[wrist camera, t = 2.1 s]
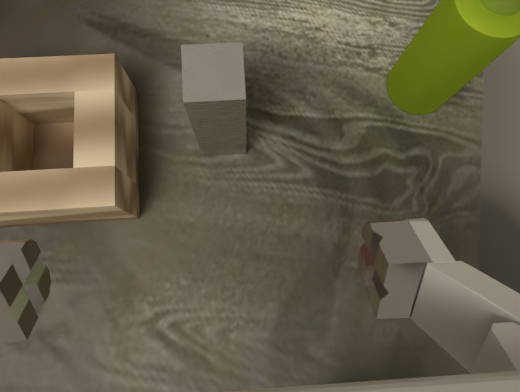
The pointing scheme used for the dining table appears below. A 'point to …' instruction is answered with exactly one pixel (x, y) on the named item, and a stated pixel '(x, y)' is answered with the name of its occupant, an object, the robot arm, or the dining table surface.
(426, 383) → the robot arm
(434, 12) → the soap dispenser
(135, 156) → the frame
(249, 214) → the dining table surface
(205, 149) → the grey square peg
